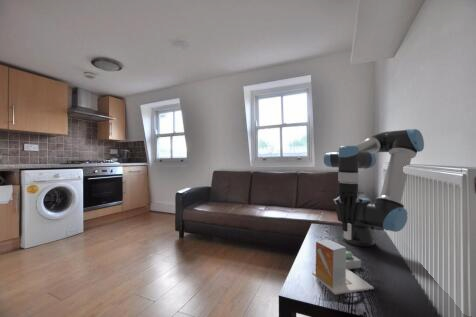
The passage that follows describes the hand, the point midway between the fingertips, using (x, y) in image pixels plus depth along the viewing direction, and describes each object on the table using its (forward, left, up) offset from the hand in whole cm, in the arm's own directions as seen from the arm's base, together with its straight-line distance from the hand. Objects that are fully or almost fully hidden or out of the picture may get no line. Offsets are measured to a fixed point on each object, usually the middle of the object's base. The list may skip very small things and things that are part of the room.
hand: (347, 238), depth 88 cm
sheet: (+11, +10, -11) cm, 18 cm away
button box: (0, 0, -11) cm, 11 cm away
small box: (+15, +10, -10) cm, 21 cm away
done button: (0, 0, -8) cm, 8 cm away
